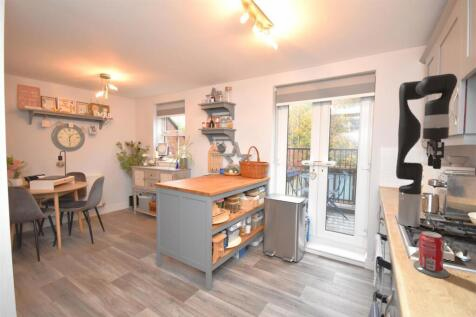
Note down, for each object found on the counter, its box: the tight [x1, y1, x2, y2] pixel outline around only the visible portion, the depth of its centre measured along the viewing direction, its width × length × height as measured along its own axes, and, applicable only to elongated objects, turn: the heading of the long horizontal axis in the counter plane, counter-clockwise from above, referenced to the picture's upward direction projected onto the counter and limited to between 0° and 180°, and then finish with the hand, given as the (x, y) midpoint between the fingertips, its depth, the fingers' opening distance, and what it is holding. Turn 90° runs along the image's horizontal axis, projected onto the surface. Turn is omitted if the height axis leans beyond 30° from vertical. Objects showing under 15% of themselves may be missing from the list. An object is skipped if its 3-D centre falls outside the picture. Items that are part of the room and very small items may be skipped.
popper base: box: [443, 245, 455, 262], centre depth 82 cm, size 7×7×3 cm
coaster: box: [412, 260, 450, 279], centre depth 73 cm, size 9×9×1 cm
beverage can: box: [418, 230, 445, 271], centre depth 73 cm, size 6×6×12 cm
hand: (433, 167), depth 85 cm, fingers open, 8 cm apart
